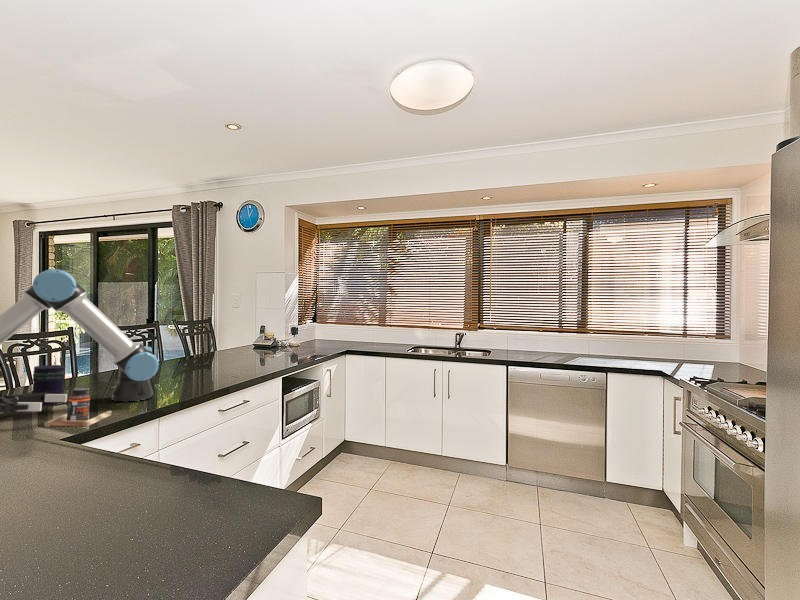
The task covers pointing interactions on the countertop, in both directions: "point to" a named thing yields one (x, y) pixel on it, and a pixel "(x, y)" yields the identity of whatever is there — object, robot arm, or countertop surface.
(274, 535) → the countertop surface
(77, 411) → the supplement bottle
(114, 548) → the countertop surface
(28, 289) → the robot arm
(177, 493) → the countertop surface
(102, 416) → the guide channel
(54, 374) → the storage jar
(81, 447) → the countertop surface
